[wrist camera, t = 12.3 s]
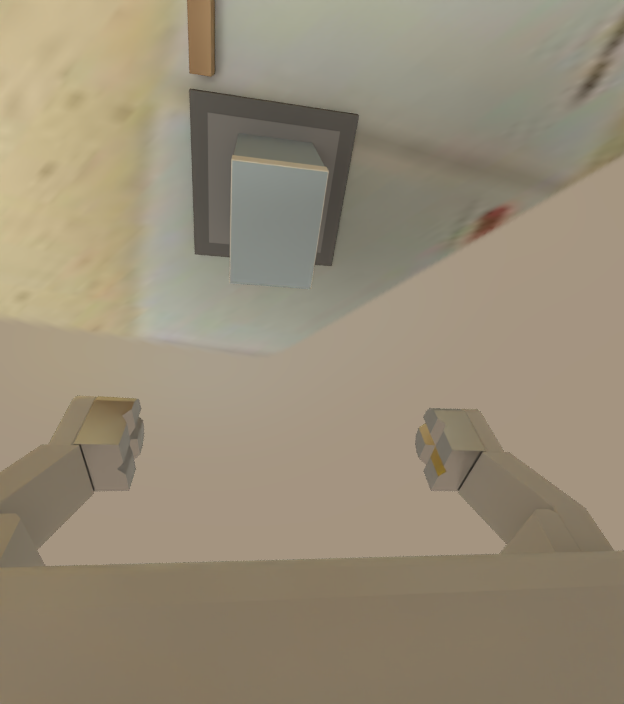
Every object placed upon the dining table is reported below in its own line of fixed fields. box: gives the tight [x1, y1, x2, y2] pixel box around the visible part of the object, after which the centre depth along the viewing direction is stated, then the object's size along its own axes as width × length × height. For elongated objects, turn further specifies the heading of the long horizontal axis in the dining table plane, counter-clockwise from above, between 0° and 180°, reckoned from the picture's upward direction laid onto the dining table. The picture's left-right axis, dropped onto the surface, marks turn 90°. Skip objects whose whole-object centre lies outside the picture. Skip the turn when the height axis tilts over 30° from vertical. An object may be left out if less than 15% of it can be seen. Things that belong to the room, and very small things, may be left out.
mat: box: [189, 89, 359, 266], centre depth 30 cm, size 11×11×1 cm
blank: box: [229, 133, 329, 289], centre depth 26 cm, size 5×7×8 cm
